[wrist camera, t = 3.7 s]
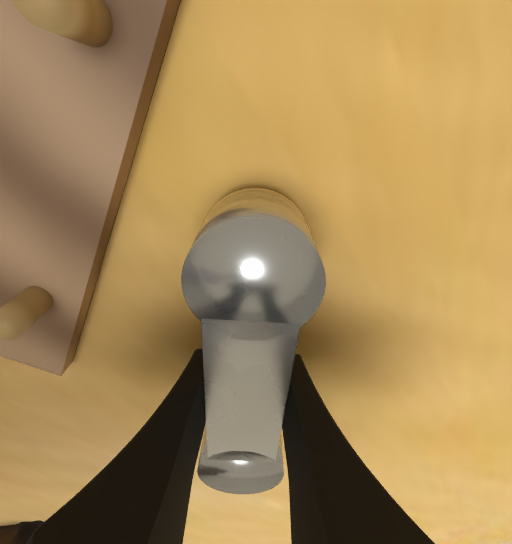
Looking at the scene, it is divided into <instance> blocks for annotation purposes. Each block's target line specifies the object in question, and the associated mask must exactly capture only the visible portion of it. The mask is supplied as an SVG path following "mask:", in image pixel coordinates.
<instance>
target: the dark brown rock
mask: <svg viewBox="0 0 512 544" xmlns="http://www.w3.org/2000/svg"><path fill="white" fill-rule="evenodd" d="M43 523H44V522H42V521H34V522H21V523H19V524H16V525H11V526H4V527H0V544H26V543H27V541H28V540H29V538H30V537H31V535H32V534H33V532H34V531H35V530H36V529H37V528H38V527H39V526H41V525H42V524H43Z"/></svg>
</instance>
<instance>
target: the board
mask: <svg viewBox="0 0 512 544" xmlns="http://www.w3.org/2000/svg"><path fill="white" fill-rule="evenodd" d="M180 1H181V0H0V356H1V357H4V358H7V359H11V360H14V361H17V362H20V363H23V364H26V365H29V366H32V367H35V368H38V369H41V370H44V371H47V372H50V373H53V374H57V375H60V376H62V374H63V373H64V372H65V370H66V369H67V368H68V366H69V365H70V364H71V362H72V360H73V357H74V354H75V350H76V347H77V344H78V340H79V337H80V334H81V330H82V327H83V324H84V320H85V317H86V314H87V310H88V307H89V304H90V300H91V297H92V294H93V291H94V287H95V284H96V281H97V277H98V274H99V271H100V267H101V264H102V261H103V257H104V254H105V251H106V247H107V244H108V241H109V237H110V234H111V231H112V227H113V224H114V221H115V217H116V214H117V211H118V207H119V204H120V201H121V197H122V194H123V191H124V187H125V184H126V181H127V177H128V174H129V171H130V167H131V164H132V161H133V157H134V154H135V151H136V147H137V144H138V141H139V137H140V134H141V131H142V127H143V124H144V121H145V117H146V114H147V111H148V107H149V104H150V101H151V97H152V94H153V91H154V87H155V84H156V81H157V77H158V74H159V71H160V67H161V64H162V61H163V57H164V54H165V51H166V47H167V44H168V41H169V37H170V34H171V31H172V27H173V24H174V21H175V17H176V14H177V11H178V7H179V4H180Z"/></svg>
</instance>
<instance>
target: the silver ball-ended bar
mask: <svg viewBox="0 0 512 544" xmlns="http://www.w3.org/2000/svg"><path fill="white" fill-rule="evenodd" d="M181 281H182V290H183V294H184V297H185V300H186V302H187V304H188V306H189V308H190V309H191V311H192V312H193V313H194V315H195V316H196V317H197V318H198V319H199V320H200V321H201V327H202V348H203V369H204V391H205V412H206V425H205V430H204V436H203V442H202V448H201V453H200V459H199V465H198V476H199V478H200V479H201V480H202V481H203V482H204V483H205V484H206V485H208V486H209V487H211V488H213V489H216V490H219V491H222V492H226V493H232V494H254V493H260V492H264V491H267V490H269V489H272V488H273V487H275V486H276V485H278V484H279V483H280V482H281V480H282V479H283V475H284V472H283V456H282V440H281V428H282V423H283V417H284V412H285V406H286V401H287V396H288V390H289V385H290V379H291V374H292V368H293V363H294V358H295V352H296V347H297V341H298V336H299V331H300V327H301V326H303V325H304V324H305V323H306V322H307V321H308V320H309V319H310V318H311V317H312V316H313V315H314V314H315V312H316V311H317V309H318V308H319V306H320V304H321V301H322V299H323V296H324V292H325V285H326V278H325V271H324V267H323V264H322V261H321V258H320V256H319V253H318V251H317V248H316V246H315V243H314V241H313V238H312V236H311V233H310V231H309V228H308V226H307V223H306V221H305V219H304V217H303V215H302V213H301V211H300V210H299V209H298V207H297V206H296V205H295V204H294V203H293V202H292V201H291V200H289V199H288V198H287V197H285V196H283V195H282V194H280V193H278V192H275V191H272V190H269V189H264V188H246V189H241V190H238V191H235V192H232V193H230V194H228V195H227V196H225V197H223V198H222V199H221V200H219V201H218V202H217V203H216V204H215V205H214V206H213V207H212V209H211V210H210V212H209V213H208V215H207V217H206V219H205V221H204V223H203V225H202V227H201V229H200V231H199V233H198V235H197V237H196V239H195V241H194V243H193V245H192V247H191V249H190V251H189V253H188V255H187V257H186V259H185V262H184V265H183V269H182V276H181Z"/></svg>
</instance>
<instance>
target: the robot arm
mask: <svg viewBox="0 0 512 544" xmlns="http://www.w3.org/2000/svg"><path fill="white" fill-rule="evenodd" d="M205 423H206V412H205V391H204V369H203V349H197V350H195V351H194V353H193V355H192V357H191V359H190V361H189V363H188V364H187V366H186V368H185V369H184V371H183V373H182V374H181V376H180V377H179V379H178V380H177V382H176V383H175V385H174V386H173V388H172V389H171V391H170V392H169V394H168V395H167V396H166V398H165V399H164V400H163V402H162V403H161V404H160V406H159V407H158V408H157V410H156V411H155V412H154V414H153V415H152V416H151V417H150V419H149V420H148V421H147V422H146V424H145V425H144V426H143V427H142V428H141V429H140V431H139V432H138V433H137V434H136V435H135V436H134V437H133V439H132V440H131V441H130V442H129V443H128V444H127V445H126V446H125V447H124V448H123V449H122V450H121V451H120V453H119V454H118V455H117V456H116V457H115V458H114V459H113V460H112V461H111V462H110V463H109V464H108V465H107V466H106V467H105V468H104V469H103V470H102V471H101V472H100V473H99V474H98V475H96V476H95V477H94V478H93V479H92V480H91V481H90V482H89V483H88V484H87V485H86V486H85V487H84V488H83V489H82V490H81V491H80V492H79V493H77V494H76V495H75V496H74V497H73V498H72V499H71V500H70V501H68V502H67V503H66V504H65V505H64V506H63V507H61V508H60V509H59V510H58V511H57V512H56V513H54V514H53V515H52V516H51V517H50V518H49V519H48V520H46V521H45V522H44V523H43V524H42V525H41V526H39V527H38V528H37V529H36V530H35V531H34V532H33V534H32V535H31V537H30V538H29V540H28V541H27V543H26V544H182V543H183V536H184V530H185V523H186V517H187V510H188V504H189V498H190V491H191V485H192V479H193V474H194V469H195V464H196V460H197V456H198V452H199V448H200V444H201V440H202V435H203V431H204V427H205ZM282 429H283V437H284V444H285V452H286V460H287V467H288V477H289V493H290V515H291V539H292V544H435V543H434V542H433V541H432V540H431V539H430V538H429V537H428V536H427V535H426V534H425V533H424V532H423V531H422V530H421V529H420V528H419V527H418V526H417V525H416V523H415V522H414V521H413V520H412V519H411V518H410V517H409V516H408V515H407V514H406V513H405V512H404V510H403V509H402V508H401V507H400V506H399V505H398V504H397V503H396V501H395V500H394V499H393V498H392V497H391V496H390V495H389V493H388V492H387V491H386V490H385V489H384V487H383V486H382V485H381V484H380V482H379V481H378V480H377V479H376V478H375V476H374V475H373V474H372V473H371V471H370V470H369V469H368V468H367V467H366V465H365V464H364V463H363V461H362V460H361V459H360V457H359V456H358V455H357V453H356V452H355V451H354V449H353V448H352V446H351V445H350V444H349V442H348V441H347V439H346V438H345V436H344V435H343V433H342V432H341V430H340V429H339V427H338V426H337V424H336V423H335V421H334V419H333V418H332V416H331V415H330V413H329V411H328V410H327V408H326V406H325V404H324V403H323V401H322V399H321V397H320V395H319V393H318V392H317V390H316V388H315V386H314V384H313V382H312V380H311V378H310V376H309V374H308V372H307V369H306V367H305V365H304V362H303V360H302V357H301V356H300V355H299V354H295V358H294V363H293V368H292V374H291V379H290V385H289V390H288V396H287V401H286V406H285V412H284V417H283V423H282Z"/></svg>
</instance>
